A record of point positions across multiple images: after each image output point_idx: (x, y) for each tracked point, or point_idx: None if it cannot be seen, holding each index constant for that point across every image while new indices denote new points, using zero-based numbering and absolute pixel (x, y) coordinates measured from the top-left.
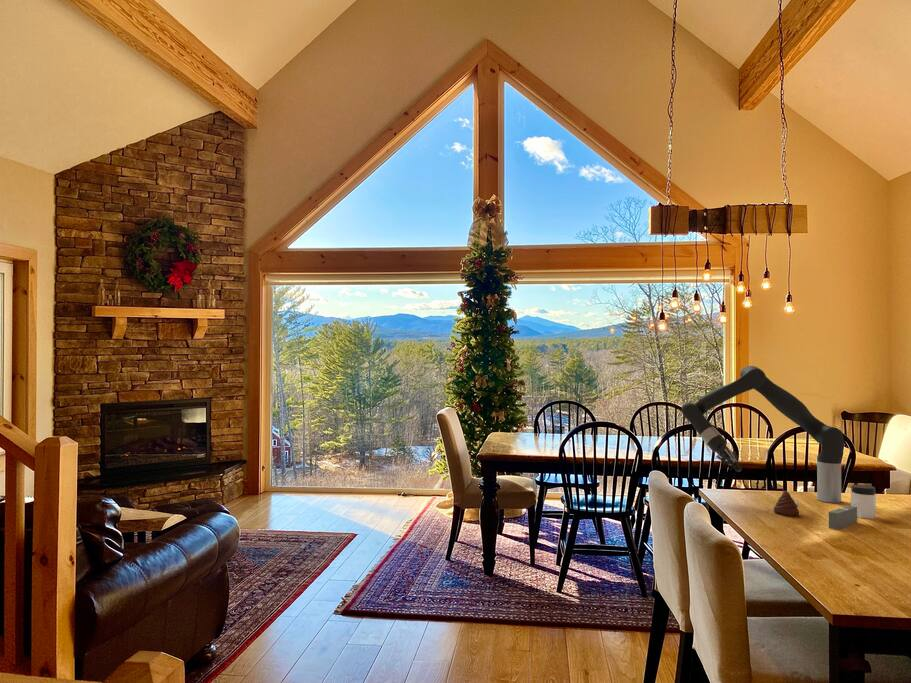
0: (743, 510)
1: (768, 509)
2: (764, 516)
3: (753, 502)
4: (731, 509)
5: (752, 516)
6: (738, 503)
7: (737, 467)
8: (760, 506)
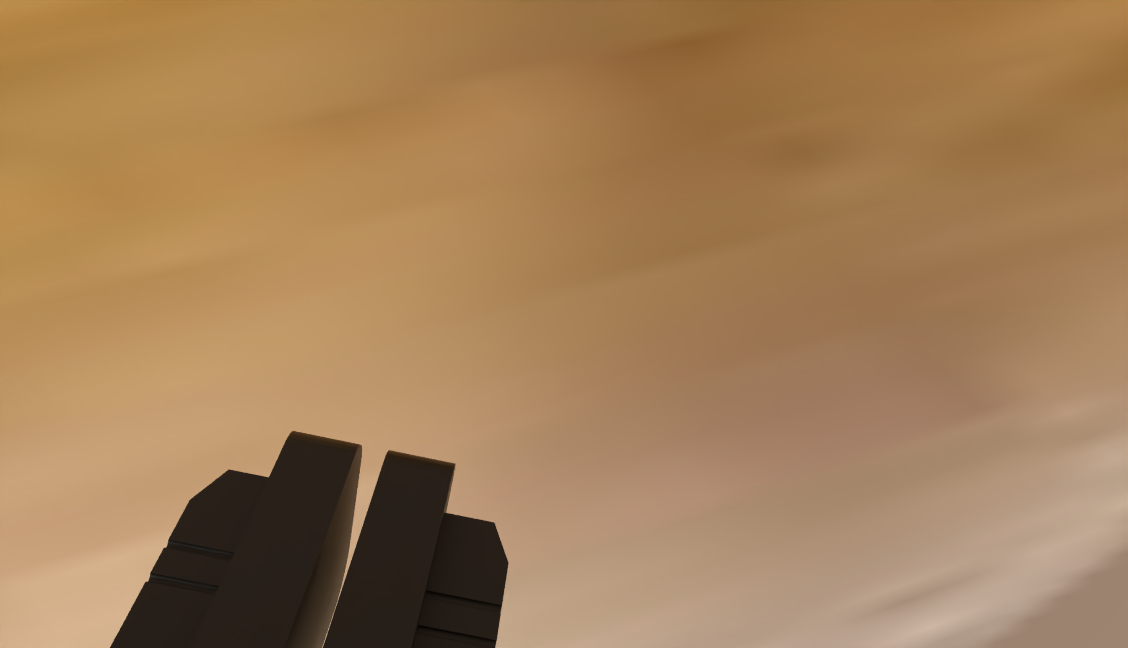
0: (844, 338)
1: (484, 66)
2: (977, 14)
3: (99, 383)
4: (922, 504)
5: (1107, 137)
6: None
7: (453, 575)
8: (351, 210)
